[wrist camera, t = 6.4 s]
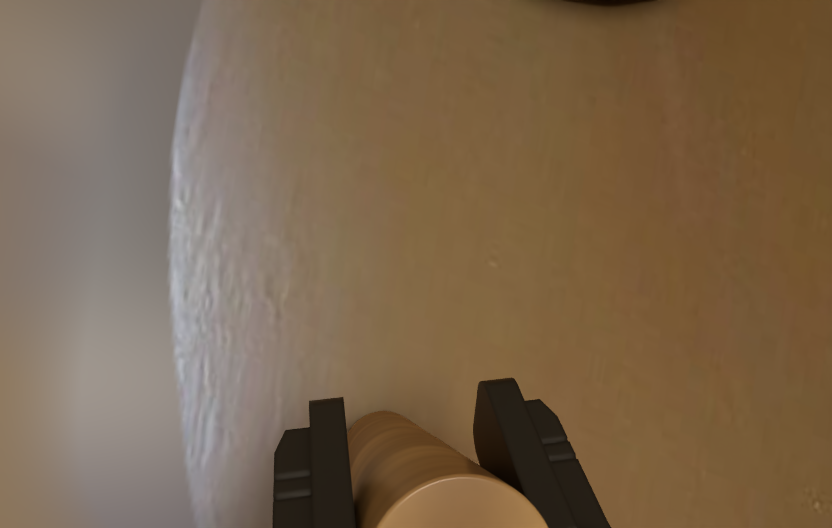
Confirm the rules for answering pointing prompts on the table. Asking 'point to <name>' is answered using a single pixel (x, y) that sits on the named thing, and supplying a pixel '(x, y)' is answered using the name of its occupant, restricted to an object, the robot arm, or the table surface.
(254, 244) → the table surface
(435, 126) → the table surface
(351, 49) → the table surface
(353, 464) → the stick
